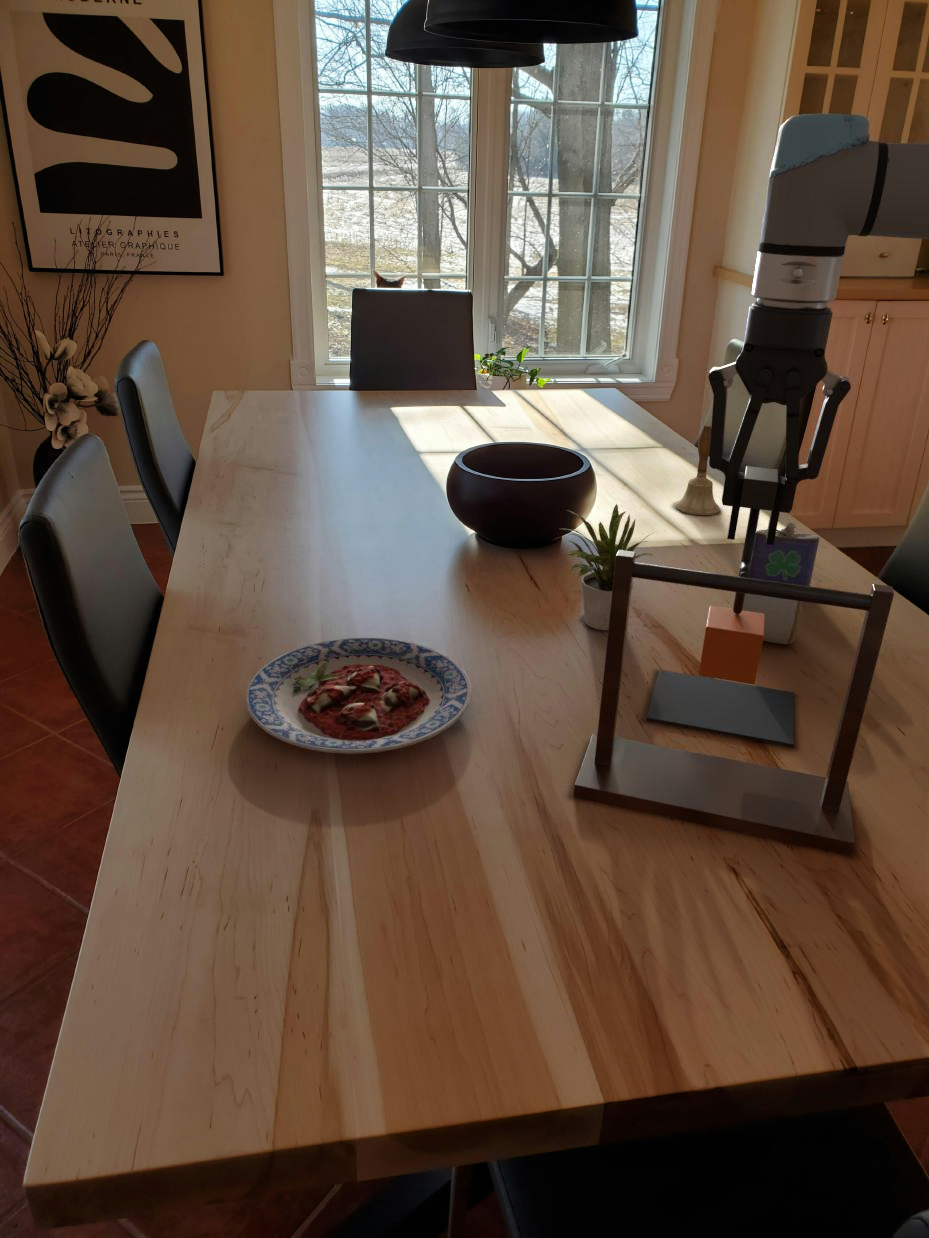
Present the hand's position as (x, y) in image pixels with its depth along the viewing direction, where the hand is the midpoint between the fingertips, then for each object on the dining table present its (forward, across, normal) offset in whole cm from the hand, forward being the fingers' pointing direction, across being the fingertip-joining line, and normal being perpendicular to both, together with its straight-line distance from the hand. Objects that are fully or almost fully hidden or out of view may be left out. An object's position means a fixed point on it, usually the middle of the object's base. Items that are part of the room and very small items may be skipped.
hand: (750, 537), depth 95 cm
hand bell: (+22, -9, +76) cm, 80 cm away
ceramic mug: (+22, +4, +24) cm, 33 cm away
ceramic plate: (+22, -40, -12) cm, 47 cm away
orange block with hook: (+16, 0, 0) cm, 16 cm away
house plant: (+22, -18, +21) cm, 35 cm away
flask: (+22, +6, +41) cm, 47 cm away
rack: (+22, 0, -16) cm, 27 cm away
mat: (+22, 0, +2) cm, 22 cm away
